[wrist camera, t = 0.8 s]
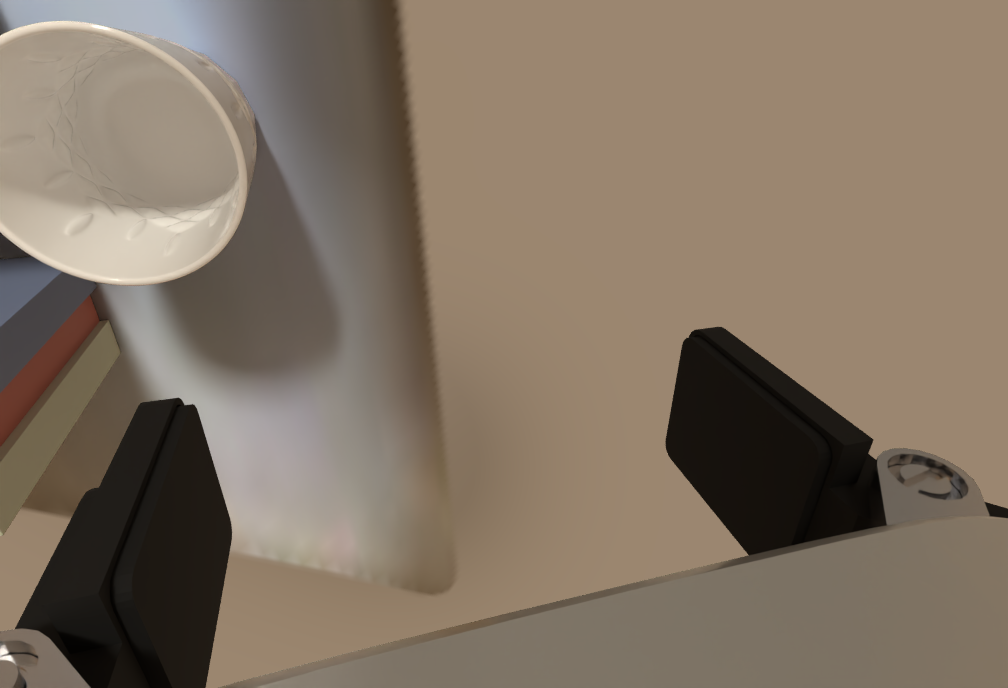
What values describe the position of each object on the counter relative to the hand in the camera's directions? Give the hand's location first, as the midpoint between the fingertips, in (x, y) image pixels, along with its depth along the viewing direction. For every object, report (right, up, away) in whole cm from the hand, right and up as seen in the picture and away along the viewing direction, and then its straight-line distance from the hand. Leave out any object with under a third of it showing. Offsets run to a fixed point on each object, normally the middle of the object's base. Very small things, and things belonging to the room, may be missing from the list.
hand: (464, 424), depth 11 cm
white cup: (-14, +12, +15) cm, 24 cm away
